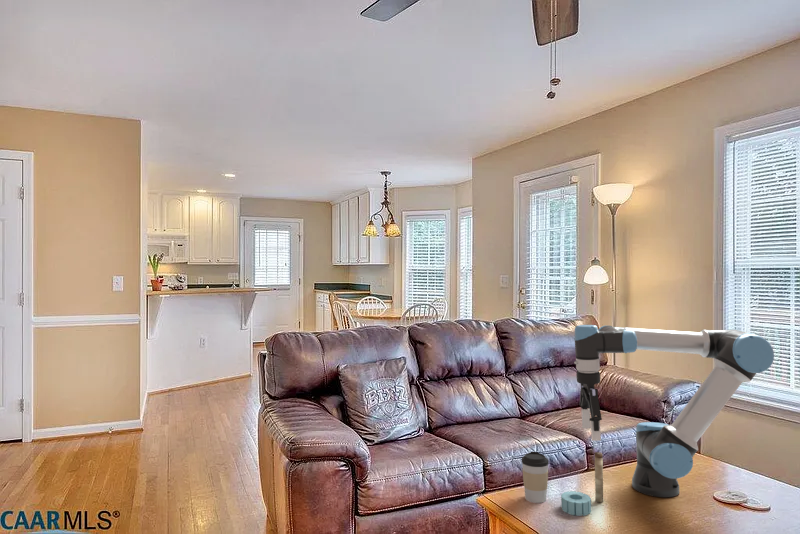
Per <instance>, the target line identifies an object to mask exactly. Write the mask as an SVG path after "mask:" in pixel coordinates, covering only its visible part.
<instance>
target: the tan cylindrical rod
mask: <svg viewBox="0 0 800 534" xmlns="http://www.w3.org/2000/svg"><path fill="white" fill-rule="evenodd" d="M603 457H604V456H603V452H599V451H597V452H594V490H595V492H594V493H595V497H594V498H595V502H596V503H600V504H602V503H604V467H603V466H604V465H603V464H604V463H603V460H604V459H603Z"/></svg>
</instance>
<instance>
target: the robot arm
mask: <svg viewBox="0 0 800 534" xmlns="http://www.w3.org/2000/svg"><path fill="white" fill-rule="evenodd" d="M573 339H574V351H575V354H574V355H575V361H574V362H573V363H574V365H575V366H576V367H575V368H576V370H577V371H576V383H578V384H580V391H579V393H580V394H579V406H580V408H581V409H580V410H581V428H582V429H590V431H591V432H590V433H591V435H590V436H591V441H595V442H596V441H597V442H599V441H602V439H601V438H602V437H601V421H602V420H603V417H602V414H601V413H602V412H601V408H600V400H599V391H598V389H597V388H595V385H598V384H600V382H601V373H600V371H601V363H600V354H630V353H635V352H636V351H637V350H638V351H639V350H641V351H653V352H665V353H666V352H667V353H680V354H692V355H693V354H695V355H699V356H701V358H705V359H707V358H709V359H713V361H714V368H713V369H712V370H711V371H710V373H709V374H708V376H707V377H706V378H705V380H704V381H703V382H702V383H701V385H700V386H699V387H698V389H697V390H696V392H695V393H694V394H693V395H692V397H691V398H690V399H689V401H688V402H687V404H686V405H685V406H684V408H683V409H682V410H681V412H680V413H679V414H678V416H677V417H676V418H675V420H673V422H672V423H671V424H668V423H664V422H653V421H651V422H650V421H648V422H647V421H646V422H645V421H644V422H638V423H637V424H636V430H635V434H636V435H635V437H636V438H635V439H636V441H635V443H636V466H635V470H634V473H633V474H632V478H631V486H632V488H633V489H634V490H635V491H637V492H638V493H640V494H641V493H642V494H644V495H647V496H651V497H657V498H672V497H676V496H678V495H680V484H679V481H678V479H681V478H684V477H685V476H687V475H688V474H690V472H691V471H692V468H693V466H694V459H693V457H694V456H695V455H696V453H697V452H698V451H699V447H698V441H699V440H700V439H701V437H702V436H703V435H704V433H705V432H706V431H707V430H708V428H709V427H710V426H711V424H713V422H714V420H715V419H716V418H717V416H719V413H720V412H721V411H722V410H723V408H724V407H725V406H726V404H727V403H728V401H730V399H731V398H732V396H733V395H734V394H736V393H735V392H737V390H738V389H739V387H740V386H741V385H742V384H743V383H749V382H751V381H752V379H754V377H755V376H756V375H757V374H760V373H762V372H763V373H764V372H765V371H767V370H768V369H769V368H770V367H771V366H772V365H773V363H774V361H775V360H774V358H775V352H774V349H773V347H772V345H771V343H770V342H769V341H768V340H767V339H766V338H764V337H762V336H760V335H758V334H756V333H752V332H746V331H741V330H739V329H719V330H718V329H715V330H713V329H702V330H701V331H700V332H697V331H684V330H683V331H682V330H670V329H667V330H666V329H656V328H655V329H654V328H653V329H652V328H637V327H623V326H621V327H620V326H613V325H602V326H600V327H599V328H598V326H597V325H595V324H579V325H576V326H575V328H574V338H573Z"/></svg>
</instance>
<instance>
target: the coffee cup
mask: <svg viewBox="0 0 800 534" xmlns="http://www.w3.org/2000/svg"><path fill="white" fill-rule="evenodd" d="M521 464H522V465H521V466H522V469H521V470H522V480H523V489H524V495H525V498H524V499H525V500H526V501H528V502H529V503H534V504H542V502H543V503H545V502H546V501H547V493H548V490H547V489H548V481H549V464H550V463H549V459H548V458H547V457H546V456H545V455H544V454H541V453H540V452H538V451H530V452H528V453H525V454H524V455H523V456H522V457H521Z"/></svg>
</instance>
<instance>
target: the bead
mask: <svg viewBox="0 0 800 534" xmlns="http://www.w3.org/2000/svg"><path fill="white" fill-rule="evenodd" d="M560 497H561V498H560V501H561V507H562V508H561V510H562V511H563V512H564V513H566V514H569V515H571V516H578V517H581V516H588V515H590V514H591V513H592V498H591V496H590V495H589V494H588V493H587V494H586V493H585V492H580V491H575V490H573V491H571V490H570V491H569V490H568V491H564V492H562V493H561V495H560Z"/></svg>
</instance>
